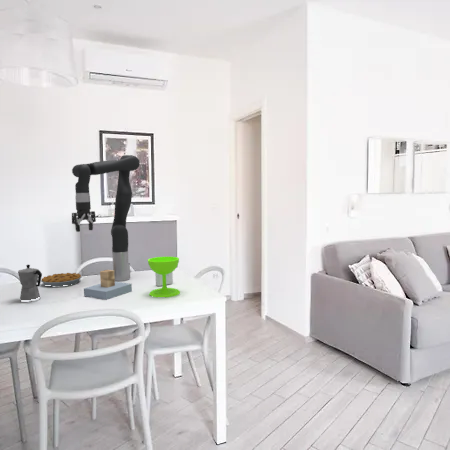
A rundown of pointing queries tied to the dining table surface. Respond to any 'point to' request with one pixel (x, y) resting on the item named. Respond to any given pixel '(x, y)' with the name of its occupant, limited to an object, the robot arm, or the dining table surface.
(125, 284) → the block
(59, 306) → the dining table surface
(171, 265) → the wineglass
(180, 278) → the dining table surface
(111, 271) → the oak block
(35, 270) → the coffeepot
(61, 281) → the pie
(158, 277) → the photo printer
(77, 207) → the robot arm
